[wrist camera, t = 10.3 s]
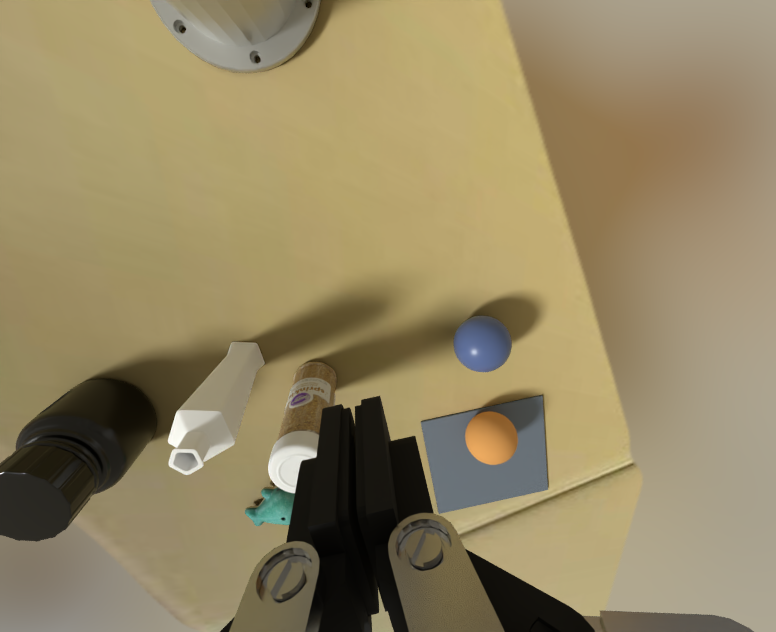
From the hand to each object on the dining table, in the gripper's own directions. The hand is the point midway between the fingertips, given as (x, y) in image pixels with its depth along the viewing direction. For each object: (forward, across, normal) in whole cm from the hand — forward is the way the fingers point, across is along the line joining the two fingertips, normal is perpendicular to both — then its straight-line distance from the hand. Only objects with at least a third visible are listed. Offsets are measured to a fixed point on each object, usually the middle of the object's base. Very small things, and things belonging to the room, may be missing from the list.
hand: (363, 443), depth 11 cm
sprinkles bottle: (+27, +7, +12) cm, 31 cm away
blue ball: (+24, -10, +11) cm, 28 cm away
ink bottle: (+27, +28, +11) cm, 41 cm away
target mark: (+27, -10, +27) cm, 40 cm away
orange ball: (+24, -10, +22) cm, 34 cm away
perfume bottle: (+27, +13, +8) cm, 31 cm away
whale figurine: (+28, +15, +26) cm, 41 cm away
